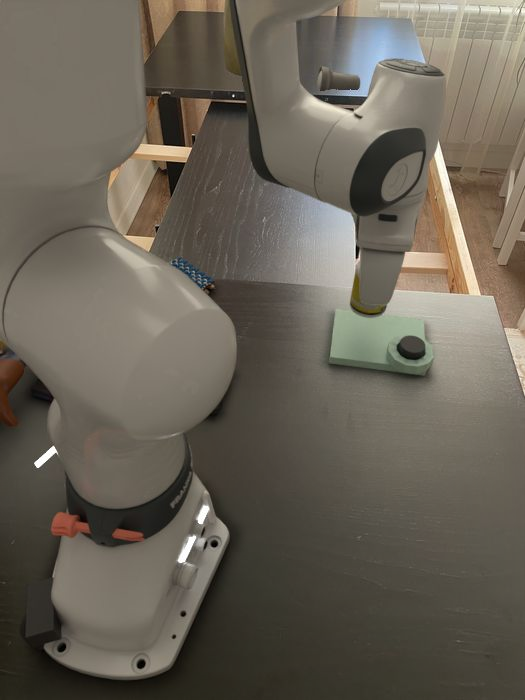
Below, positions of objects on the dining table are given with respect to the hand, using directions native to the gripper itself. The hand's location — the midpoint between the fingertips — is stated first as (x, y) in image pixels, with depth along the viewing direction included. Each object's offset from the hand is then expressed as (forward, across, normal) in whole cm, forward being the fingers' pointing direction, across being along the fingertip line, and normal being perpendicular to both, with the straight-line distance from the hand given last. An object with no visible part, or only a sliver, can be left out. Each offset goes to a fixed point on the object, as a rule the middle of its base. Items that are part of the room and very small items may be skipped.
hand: (370, 288), depth 77 cm
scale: (+10, +1, +2) cm, 10 cm away
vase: (+10, -111, -39) cm, 118 cm away
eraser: (+8, +19, -40) cm, 45 cm away
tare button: (+7, +5, +7) cm, 11 cm away
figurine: (+5, +28, -47) cm, 55 cm away
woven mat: (+10, -6, -32) cm, 34 cm away
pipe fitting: (+6, -96, -11) cm, 97 cm away
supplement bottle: (+4, 0, 0) cm, 4 cm away
